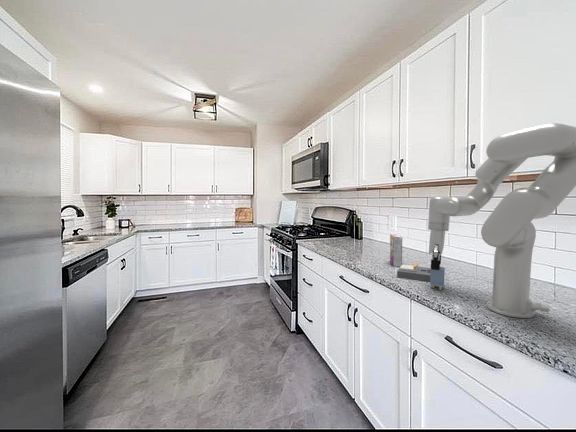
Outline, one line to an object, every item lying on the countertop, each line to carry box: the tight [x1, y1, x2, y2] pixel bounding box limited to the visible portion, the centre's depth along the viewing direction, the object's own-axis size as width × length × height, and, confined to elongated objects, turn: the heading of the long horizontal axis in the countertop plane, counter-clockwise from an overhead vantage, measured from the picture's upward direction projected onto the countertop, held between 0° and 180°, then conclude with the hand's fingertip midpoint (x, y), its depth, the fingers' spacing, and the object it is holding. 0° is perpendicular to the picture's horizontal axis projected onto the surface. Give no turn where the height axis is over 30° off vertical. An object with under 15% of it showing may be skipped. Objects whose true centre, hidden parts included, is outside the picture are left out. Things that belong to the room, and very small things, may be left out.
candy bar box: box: [389, 233, 403, 268], centre depth 153 cm, size 11×5×16 cm, turn 168°
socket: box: [396, 266, 431, 283], centre depth 132 cm, size 16×14×3 cm
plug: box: [429, 266, 446, 291], centre depth 115 cm, size 5×4×8 cm
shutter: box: [399, 262, 419, 271], centre depth 134 cm, size 7×8×2 cm
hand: (435, 266), depth 115 cm, fingers open, 9 cm apart
